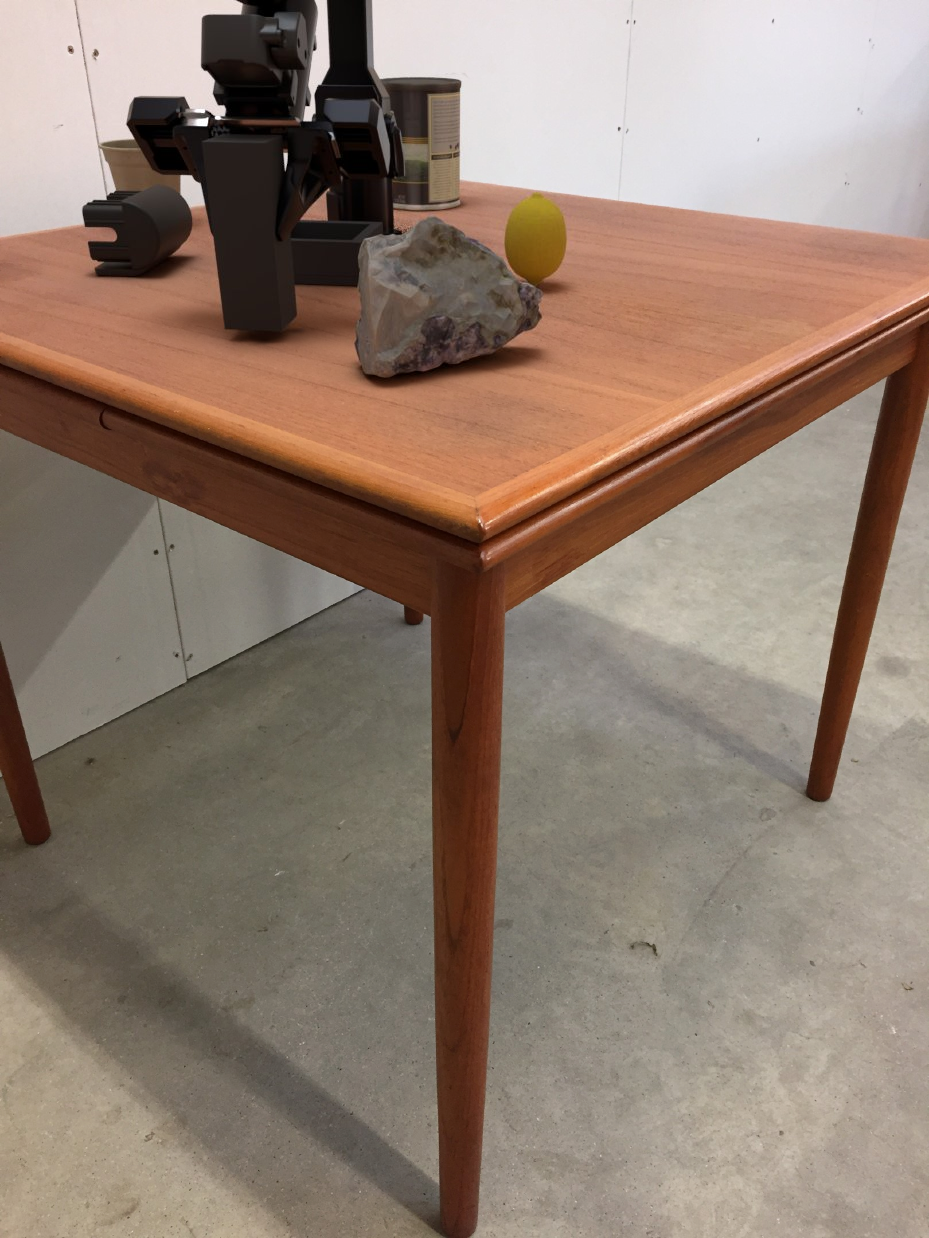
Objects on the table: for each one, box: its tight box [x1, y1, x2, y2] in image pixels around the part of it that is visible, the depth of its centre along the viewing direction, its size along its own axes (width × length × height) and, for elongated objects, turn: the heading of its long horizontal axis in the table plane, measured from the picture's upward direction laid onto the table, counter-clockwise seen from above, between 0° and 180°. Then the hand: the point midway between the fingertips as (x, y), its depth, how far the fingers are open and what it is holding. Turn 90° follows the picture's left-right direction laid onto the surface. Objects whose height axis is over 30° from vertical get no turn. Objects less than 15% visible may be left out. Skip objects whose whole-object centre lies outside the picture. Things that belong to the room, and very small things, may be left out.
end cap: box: [81, 184, 194, 277], centre depth 97 cm, size 10×7×7 cm
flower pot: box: [97, 138, 182, 195], centre depth 114 cm, size 9×9×9 cm
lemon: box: [504, 191, 568, 287], centre depth 90 cm, size 6×6×8 cm
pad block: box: [202, 134, 298, 332], centre depth 75 cm, size 4×4×13 cm
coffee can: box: [380, 76, 462, 212], centre depth 125 cm, size 10×10×14 cm
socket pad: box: [290, 219, 383, 287], centre depth 95 cm, size 10×10×4 cm
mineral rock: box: [353, 215, 544, 378], centre depth 69 cm, size 13×11×10 cm
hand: (246, 237), depth 73 cm, fingers closed on pad block, 4 cm apart
